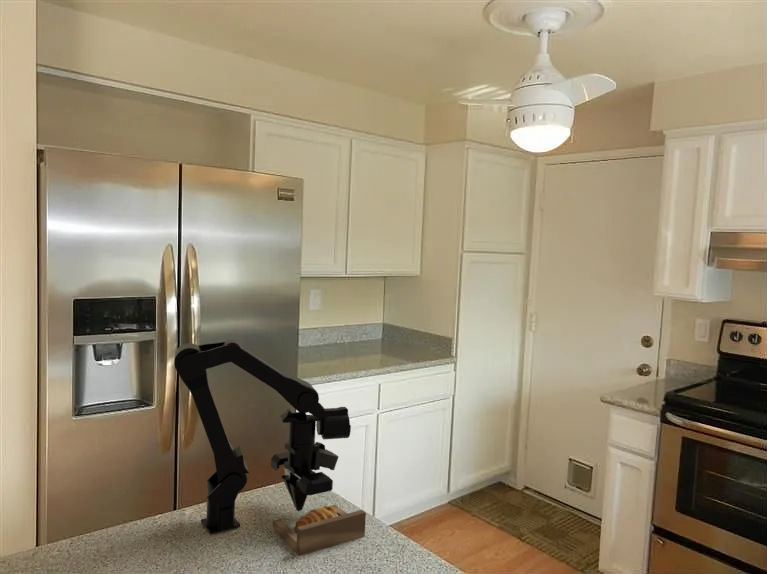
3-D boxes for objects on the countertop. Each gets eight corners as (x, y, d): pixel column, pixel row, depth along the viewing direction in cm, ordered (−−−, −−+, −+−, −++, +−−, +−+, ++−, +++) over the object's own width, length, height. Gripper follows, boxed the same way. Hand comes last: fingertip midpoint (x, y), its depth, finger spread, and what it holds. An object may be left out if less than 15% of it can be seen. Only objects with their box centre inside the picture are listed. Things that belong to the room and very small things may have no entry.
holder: (273, 529, 122) (273, 506, 122) (334, 513, 131) (335, 491, 130) (299, 555, 112) (300, 530, 112) (364, 536, 121) (365, 512, 121)
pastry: (305, 541, 118) (306, 523, 118) (287, 528, 123) (288, 511, 123) (342, 528, 125) (343, 510, 124) (323, 516, 130) (324, 499, 129)
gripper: (355, 447, 124) (352, 518, 125) (314, 423, 140) (311, 487, 141) (309, 456, 118) (306, 531, 119) (270, 430, 133) (268, 497, 134)
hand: (299, 510), depth 128 cm, fingers closed
